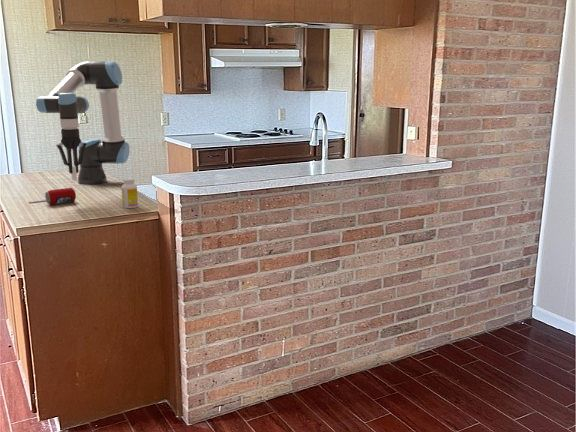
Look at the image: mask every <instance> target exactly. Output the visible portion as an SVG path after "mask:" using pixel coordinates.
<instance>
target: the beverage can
mask: <svg viewBox="0 0 576 432" xmlns="http://www.w3.org/2000/svg"><path fill="white" fill-rule="evenodd" d="M44 194H45V195H44V196H45V200H46V201H45V202H46V203H47V204H48V205H51V206H53V205H61V204H68V203H74V202H75V201H76V198H77V195H76V191H75V189H74V188H73V187H66V188H64V187H63V188H58V189H50V190H48V191H47V192H45V193H44Z"/></svg>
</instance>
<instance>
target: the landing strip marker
mask: <svg viewBox="0 0 576 432" xmlns="http://www.w3.org/2000/svg"><path fill="white" fill-rule="evenodd" d="M45 202H46V199H44V200H36V201H35V200H34V201H28V204H35V203H45Z"/></svg>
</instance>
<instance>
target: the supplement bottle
mask: <svg viewBox="0 0 576 432" xmlns="http://www.w3.org/2000/svg"><path fill="white" fill-rule="evenodd" d="M122 180H123V184H122V185H121V198H122V199H121V200H122V207H123V208H124V209H135V208H138V207H139V200H138V186H137V184H135V178H134V177H133V178H132V177H130V178H129V177H128V178H122Z"/></svg>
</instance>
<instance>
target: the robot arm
mask: <svg viewBox="0 0 576 432" xmlns="http://www.w3.org/2000/svg"><path fill="white" fill-rule="evenodd" d="M122 83H123V74H122V70H121V67H120V65H119V64H118V63H116V62H115V61H109V60H107V61H105V60H104V61H98V60H97V61H93V60H91V61H90V60H88V61H82V62H80V63H77V64H76V65H74V66H73V67H71V68H70V69H69V70H68V71H67V72H66V75H65V77H64V78H63V79H62V80H61V81H60V82H59V83H58V84H57V85H56V86H55V87H54V88H53V89H52V90H51V91H50V92H49V93H48V94H47V95H46V96H45V95H43V96H38V97H37V98H36V101H35V106H36V109H37V111H38V112H39V113H42V114H43V113H44V114H59V120H60V128H61V129H60V130H61V131H60V134H61V140H60V143H57V144H56V145H55V147H56V148H57V149H58V151H59V153H60V157H61V160H62V162H63V165H65V166H67V167H68V173H69V174H71V180H72V181H74V182H75V181H77V183H78V184H81V185H82V184H83V185H97V184H103V183H107V181H108V180H107V179H108V178H107V175H106V173H105V170H104V167H103V164H117V165H118V164H126V162H127V161H128V159H129V156H130V144H129V142H127V141H126V140H125V137H123V135H122V130H121V122H120V112H119V111H120V110H119V103H118V95H117V92H118V89H120V85H122ZM85 85H95V89H96V90H97V91H98V92H99V100H100V108H101V116H102V117H101V118H102V126H103V132H104V133H103V134H104V137H102V140H101V139H100V138H96V139H88V140H87V139H86V140H83V141H82V139H81V138H80V129H79V127H80V124H79V115H78V114H84V113H86V112H87V111H88V110H89V108H90V103H89V101H88V99H87V98H86V97H84V96H78V95H77V94H76V93H75V92H76V91H77V90H78V88H82V87H84V86H85ZM63 147H64V148H65V149H66V154H65V151H64V149H63ZM77 174H78V175H77Z"/></svg>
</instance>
